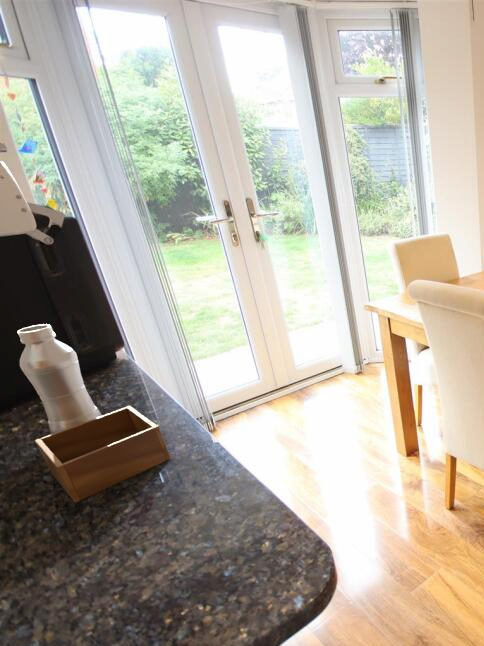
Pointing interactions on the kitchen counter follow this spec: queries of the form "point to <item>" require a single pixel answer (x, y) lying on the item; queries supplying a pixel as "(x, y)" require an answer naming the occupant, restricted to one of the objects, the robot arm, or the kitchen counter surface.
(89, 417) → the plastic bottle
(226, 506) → the kitchen counter surface
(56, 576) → the kitchen counter surface
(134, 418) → the holder
